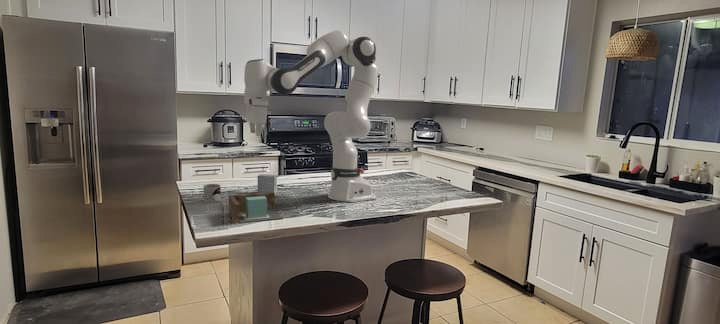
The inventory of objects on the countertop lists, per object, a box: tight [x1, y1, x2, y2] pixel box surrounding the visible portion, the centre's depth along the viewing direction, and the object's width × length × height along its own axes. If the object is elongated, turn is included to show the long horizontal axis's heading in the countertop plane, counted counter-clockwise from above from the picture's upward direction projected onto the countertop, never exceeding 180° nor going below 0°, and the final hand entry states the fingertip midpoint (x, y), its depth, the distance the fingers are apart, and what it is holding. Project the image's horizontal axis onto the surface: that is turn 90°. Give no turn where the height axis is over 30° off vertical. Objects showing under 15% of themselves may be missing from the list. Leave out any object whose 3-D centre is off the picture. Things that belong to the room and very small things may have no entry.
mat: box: [239, 209, 284, 224], centre depth 157 cm, size 16×12×1 cm
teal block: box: [246, 196, 267, 218], centre depth 155 cm, size 4×7×7 cm, turn 117°
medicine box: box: [257, 173, 278, 194], centre depth 191 cm, size 8×4×9 cm, turn 84°
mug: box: [203, 183, 222, 204], centre depth 176 cm, size 10×7×7 cm
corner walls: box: [228, 192, 276, 224], centre depth 157 cm, size 18×14×7 cm
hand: (255, 134), depth 169 cm, fingers open, 8 cm apart
